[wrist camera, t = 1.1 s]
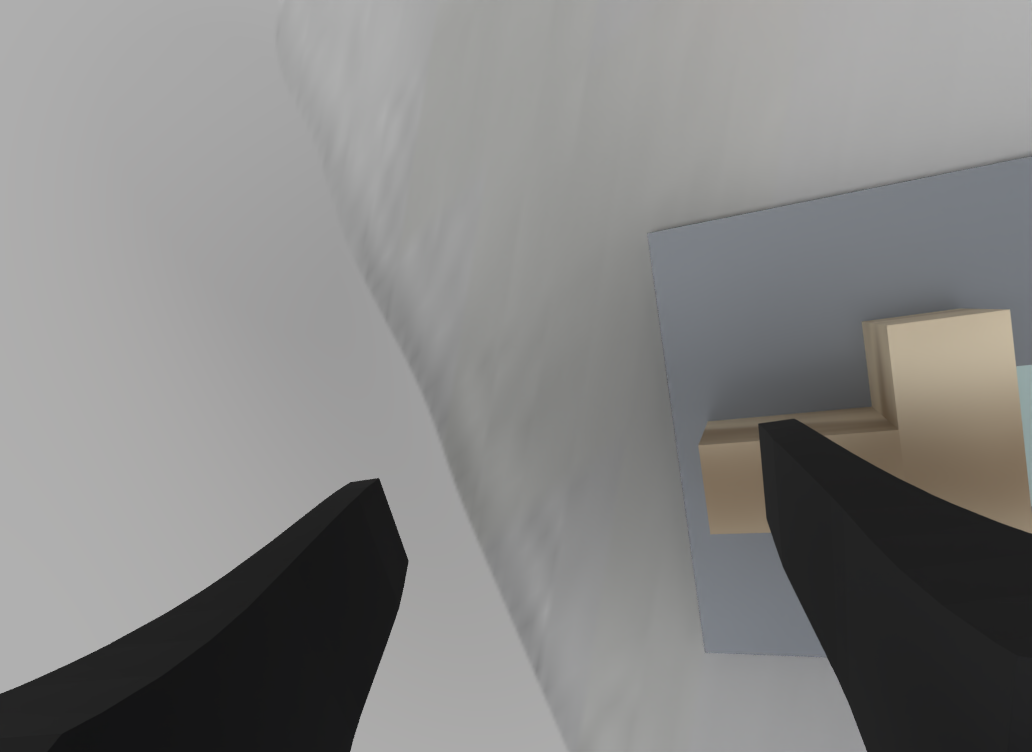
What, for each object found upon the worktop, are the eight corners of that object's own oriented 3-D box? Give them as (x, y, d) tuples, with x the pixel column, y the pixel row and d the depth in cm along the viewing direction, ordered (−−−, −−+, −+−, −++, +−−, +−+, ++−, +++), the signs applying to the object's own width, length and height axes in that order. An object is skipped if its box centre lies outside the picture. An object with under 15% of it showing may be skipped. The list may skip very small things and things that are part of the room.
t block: (988, 568, 19) (1044, 632, 16) (728, 571, 22) (722, 624, 18) (959, 308, 19) (1009, 309, 15) (697, 343, 22) (685, 351, 18)
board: (1450, 660, 17) (1491, 681, 16) (706, 638, 24) (705, 652, 23) (1410, 85, 16) (1451, 72, 15) (651, 236, 23) (647, 233, 22)
